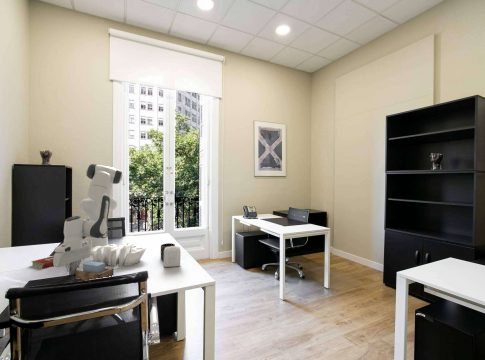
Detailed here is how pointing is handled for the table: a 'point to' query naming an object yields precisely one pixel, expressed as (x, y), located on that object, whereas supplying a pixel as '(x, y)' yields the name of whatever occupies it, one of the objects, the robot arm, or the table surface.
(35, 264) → the hardcover book
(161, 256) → the mug
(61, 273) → the table surface
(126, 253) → the wavy white extrusion
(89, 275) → the wooden tray
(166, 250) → the photo printer
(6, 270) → the table surface
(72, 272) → the tethered block
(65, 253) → the robot arm
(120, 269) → the table surface
